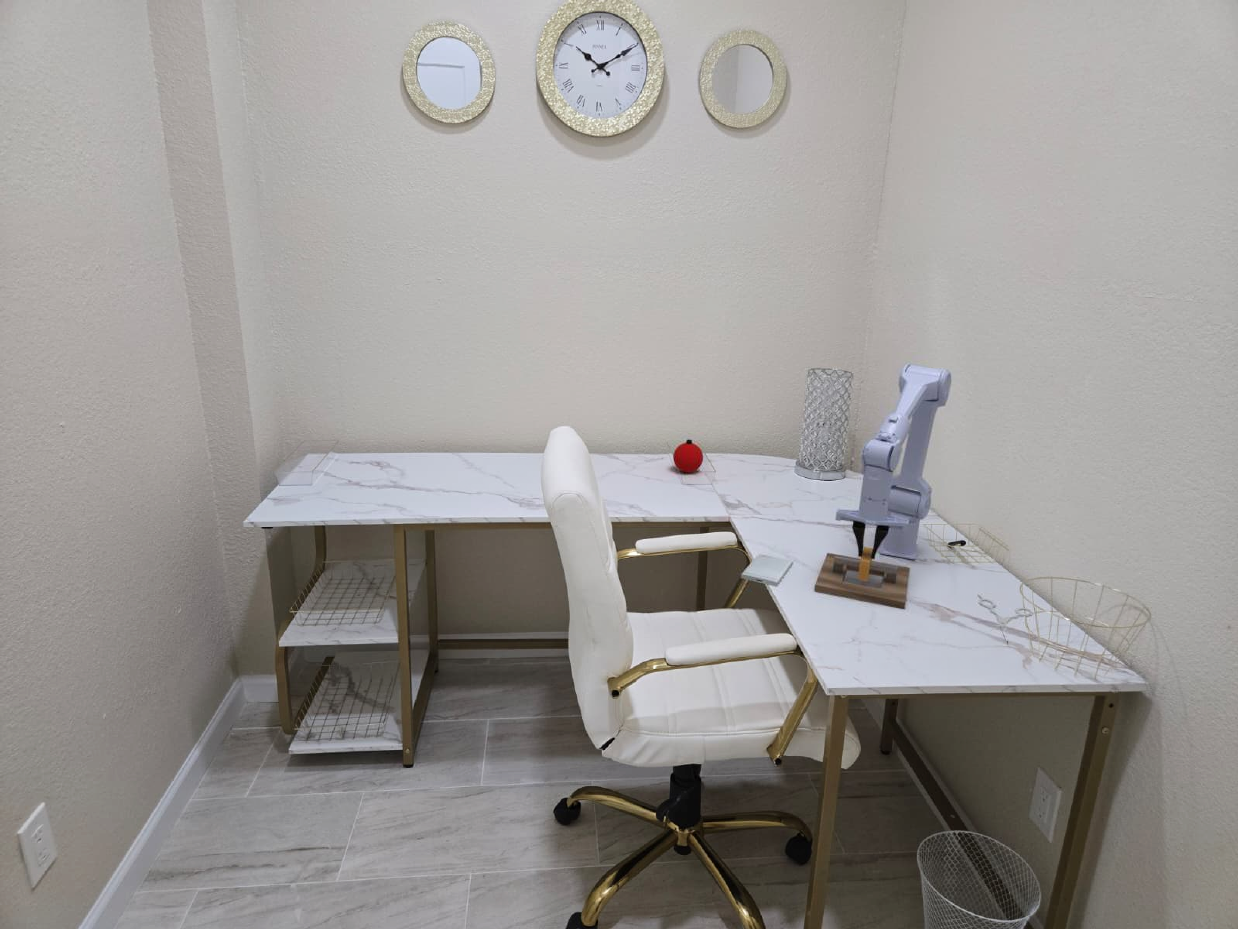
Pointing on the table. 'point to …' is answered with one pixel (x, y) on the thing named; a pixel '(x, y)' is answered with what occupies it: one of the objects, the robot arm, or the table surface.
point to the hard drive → (767, 570)
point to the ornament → (688, 457)
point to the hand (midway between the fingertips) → (866, 556)
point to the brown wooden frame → (884, 596)
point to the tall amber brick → (865, 564)
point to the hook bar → (890, 570)
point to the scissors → (999, 618)
